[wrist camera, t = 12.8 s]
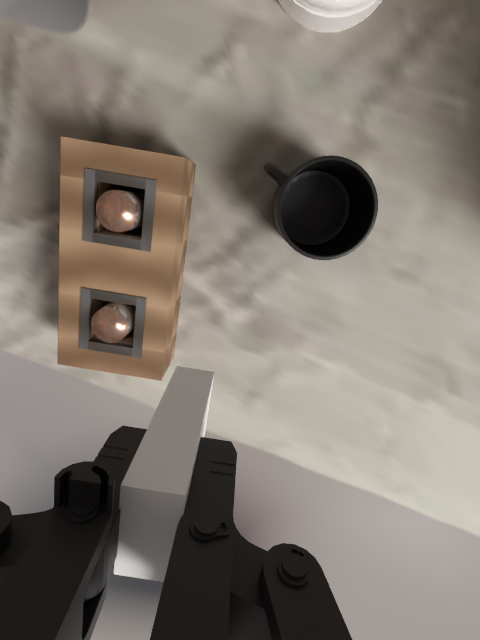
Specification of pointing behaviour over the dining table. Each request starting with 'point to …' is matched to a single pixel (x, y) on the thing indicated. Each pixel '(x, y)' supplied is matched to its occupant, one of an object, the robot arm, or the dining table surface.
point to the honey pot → (329, 13)
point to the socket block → (121, 256)
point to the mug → (324, 206)
